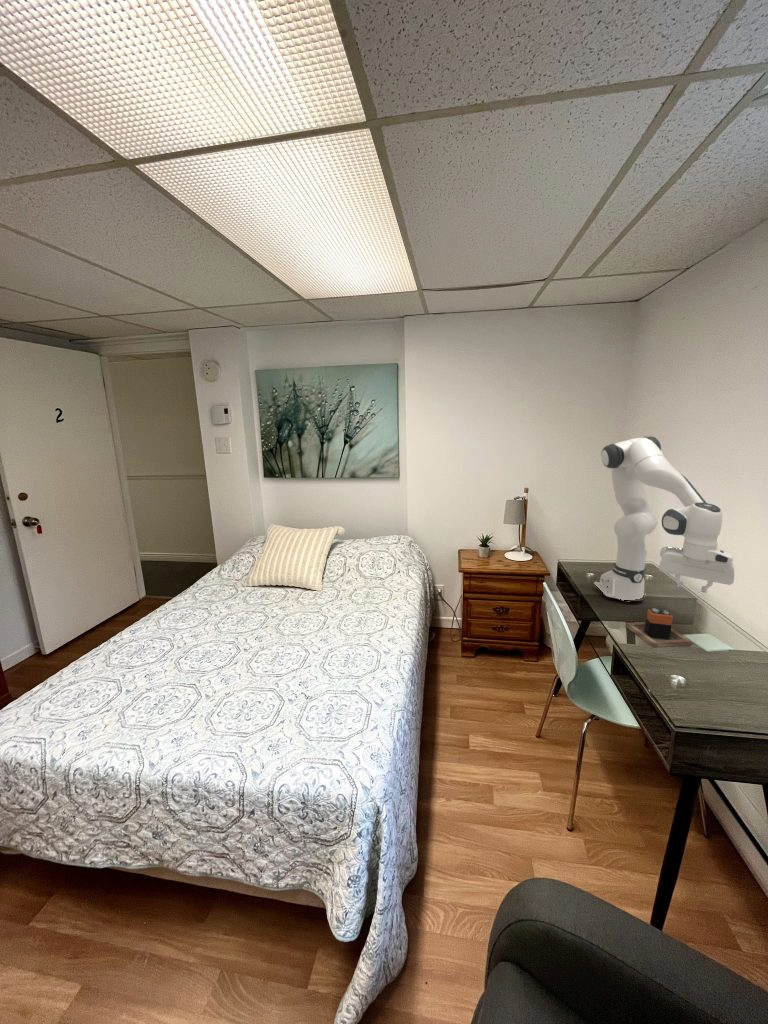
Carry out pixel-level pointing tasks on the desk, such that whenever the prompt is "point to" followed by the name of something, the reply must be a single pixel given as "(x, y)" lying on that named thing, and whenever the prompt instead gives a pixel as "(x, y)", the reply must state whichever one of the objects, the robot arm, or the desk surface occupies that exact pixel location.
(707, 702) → the desk surface
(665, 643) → the dock
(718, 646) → the pad
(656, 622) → the battery
